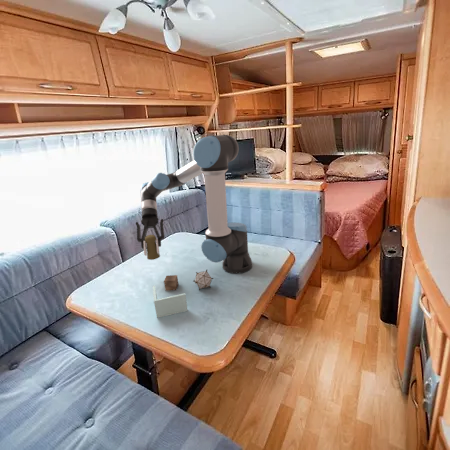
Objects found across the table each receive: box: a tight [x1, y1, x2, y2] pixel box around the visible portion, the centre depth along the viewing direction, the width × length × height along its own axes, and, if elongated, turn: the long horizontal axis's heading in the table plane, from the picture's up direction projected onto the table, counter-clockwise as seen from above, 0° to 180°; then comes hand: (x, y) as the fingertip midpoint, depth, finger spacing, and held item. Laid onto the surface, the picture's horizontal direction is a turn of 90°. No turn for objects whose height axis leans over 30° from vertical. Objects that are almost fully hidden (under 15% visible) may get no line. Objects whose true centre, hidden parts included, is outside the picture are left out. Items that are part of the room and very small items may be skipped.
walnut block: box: [163, 274, 179, 292], centre depth 130 cm, size 5×5×5 cm
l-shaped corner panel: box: [152, 285, 189, 319], centre depth 116 cm, size 12×12×8 cm
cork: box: [145, 234, 161, 261], centre depth 135 cm, size 6×6×11 cm
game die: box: [192, 269, 214, 291], centre depth 128 cm, size 9×8×10 cm
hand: (151, 253), depth 133 cm, fingers closed on cork, 5 cm apart
